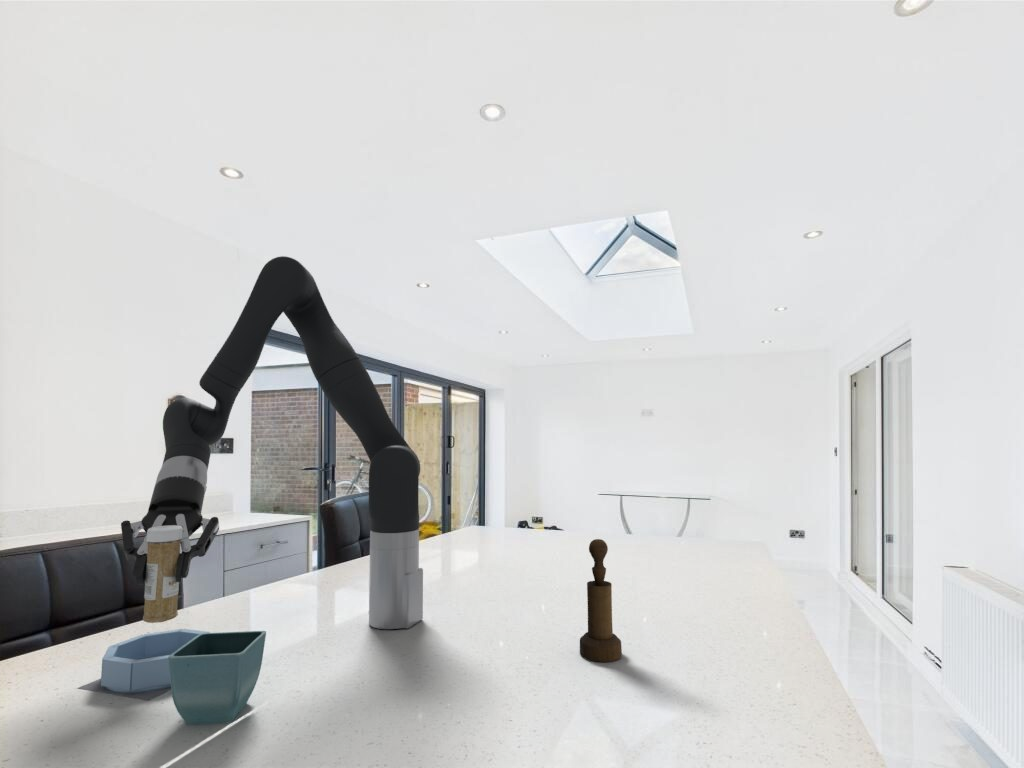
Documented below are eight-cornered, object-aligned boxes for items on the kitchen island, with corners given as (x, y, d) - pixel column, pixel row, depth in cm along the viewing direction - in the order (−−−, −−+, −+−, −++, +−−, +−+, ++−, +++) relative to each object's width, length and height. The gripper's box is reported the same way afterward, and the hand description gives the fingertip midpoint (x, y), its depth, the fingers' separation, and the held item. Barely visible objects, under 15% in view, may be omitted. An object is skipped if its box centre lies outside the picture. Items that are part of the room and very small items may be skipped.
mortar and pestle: (624, 649, 93) (621, 537, 95) (618, 665, 87) (615, 544, 89) (584, 645, 95) (582, 535, 97) (575, 659, 89) (573, 542, 91)
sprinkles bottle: (178, 620, 84) (183, 527, 85) (141, 625, 82) (147, 530, 83) (176, 612, 88) (181, 523, 89) (141, 617, 85) (147, 526, 87)
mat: (230, 663, 89) (230, 660, 89) (148, 703, 75) (148, 700, 75) (166, 654, 93) (166, 651, 93) (77, 690, 79) (77, 687, 79)
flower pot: (197, 701, 76) (200, 631, 77) (265, 698, 77) (267, 629, 77) (162, 736, 67) (166, 656, 68) (240, 732, 68) (242, 653, 69)
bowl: (228, 661, 88) (229, 634, 89) (151, 699, 76) (153, 666, 76) (163, 652, 92) (164, 626, 93) (80, 686, 80) (81, 656, 80)
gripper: (127, 475, 91) (96, 569, 79) (226, 473, 96) (212, 562, 84) (134, 505, 96) (106, 599, 83) (228, 502, 101) (215, 590, 88)
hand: (159, 579), depth 84 cm, fingers closed on sprinkles bottle, 4 cm apart
